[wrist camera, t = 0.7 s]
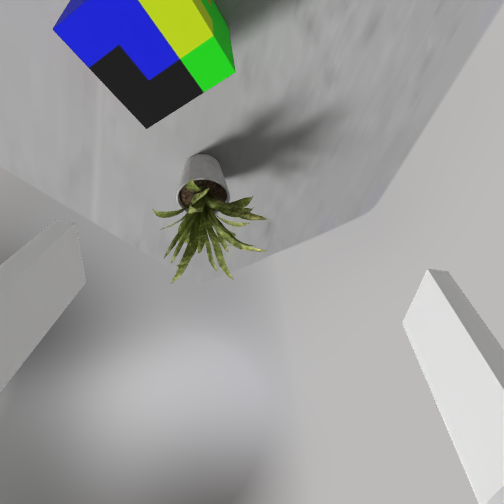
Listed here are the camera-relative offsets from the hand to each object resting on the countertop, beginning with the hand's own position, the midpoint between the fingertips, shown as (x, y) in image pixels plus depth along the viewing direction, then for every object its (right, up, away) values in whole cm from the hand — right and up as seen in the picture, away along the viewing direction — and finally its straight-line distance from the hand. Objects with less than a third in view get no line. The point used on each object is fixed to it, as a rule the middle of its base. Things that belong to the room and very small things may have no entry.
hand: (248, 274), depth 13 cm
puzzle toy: (-9, +25, +21) cm, 34 cm away
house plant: (-7, +12, +38) cm, 40 cm away
